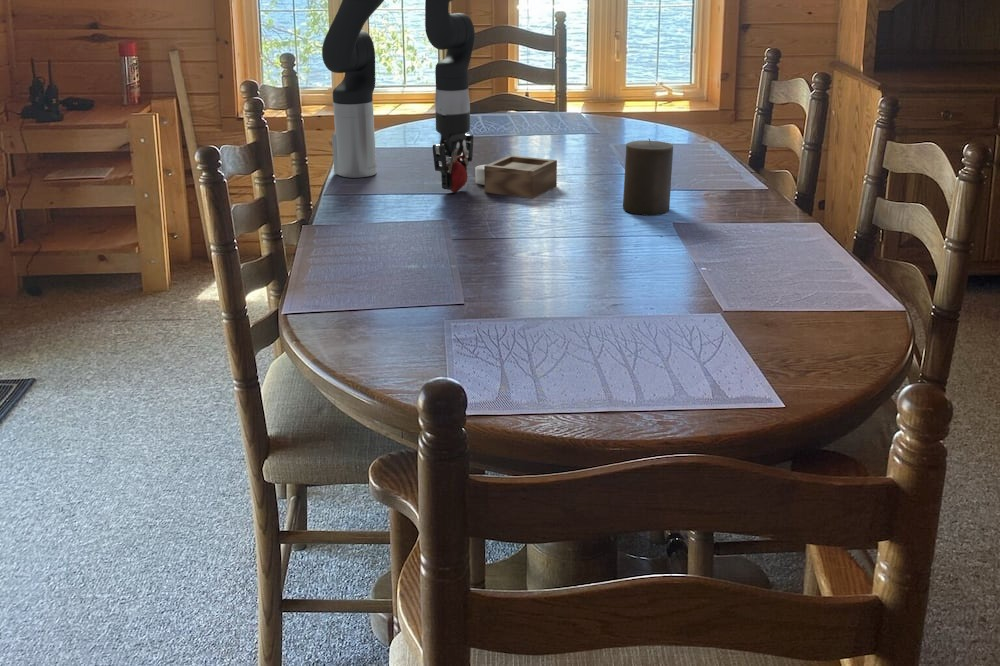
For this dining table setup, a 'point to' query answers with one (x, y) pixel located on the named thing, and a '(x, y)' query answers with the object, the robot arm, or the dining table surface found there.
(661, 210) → the pillar candle
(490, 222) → the dining table surface
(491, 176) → the brown open square tray
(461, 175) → the onion
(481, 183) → the white rounded pebble
